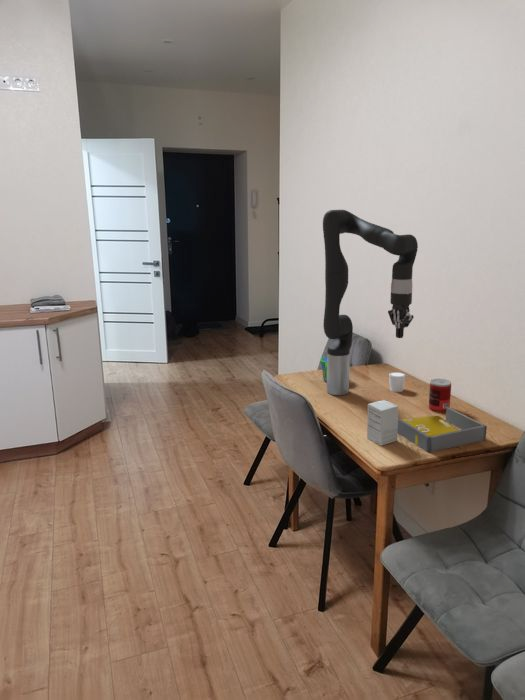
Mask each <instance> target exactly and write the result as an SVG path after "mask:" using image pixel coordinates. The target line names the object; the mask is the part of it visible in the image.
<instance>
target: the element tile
mask: <svg viewBox="0 0 525 700" xmlns="http://www.w3.org/2000/svg"><path fill="white" fill-rule="evenodd" d="M402 420H403V421H405V422H407V423H408V424H410V425H412V426H413V427H415V428H417V429H418V430H420V431H422V432H423V433H425V434H427V435H428V436H434V435H439V434H444V433H449V432H453V431H458V430H459V429H457V428H456V426H455V425H453V424H451V423H449V422H447V421H446V419H444V418H443V417H442V416H440V415H431V416H421V417H419V416H418V417H409V418H402ZM417 443H418V435H417V434H416V437H415V444H414V445H416V446H417Z"/></svg>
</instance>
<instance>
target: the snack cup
mask: <svg viewBox="0 0 525 700" xmlns="http://www.w3.org/2000/svg"><path fill="white" fill-rule="evenodd" d="M319 363H320V364H321V371H322V373H321V374H322V379H323V381H324V382H326V383H327V356H322V357H321V358H320V360H319Z"/></svg>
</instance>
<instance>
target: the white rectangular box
mask: <svg viewBox="0 0 525 700" xmlns="http://www.w3.org/2000/svg"><path fill="white" fill-rule="evenodd" d="M398 418H399V405H397V404H395V403H392V402H390V401H387V400H385V399H382V400H379V401H374V402H370V403H368V404H367V421H366V422H367V423H366V428H367V429H366V430H367V431H366V438H367V440H370V441H371V442H374V443H375V444H377V445H379V446H384V445H388V444H392V443H395V442H397V441H398V433H397V430H398Z"/></svg>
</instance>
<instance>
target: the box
mask: <svg viewBox="0 0 525 700" xmlns="http://www.w3.org/2000/svg"><path fill="white" fill-rule="evenodd" d="M445 420H446V421H447V422H448V423H450V424H451V425H452V426H454V427H458V428H459V429H458V431H453V432H449V433H444V434H439V435H434V436H428V435H427V434H425V433H423V432H422V431H420V430H418V429H417V428H415V427H413V426H412V425H410V424H408V423H407V422H405V421H403V418H401V417H398V430H397V434H399V435H400V436H401V437H403V438H405V439H407V440H408V441H410V442H411V443H413V444H414V445H416V444H415V437H416V434H417V435H418V443H417V445H416V446H417V447H419V448H421V449H422V450H423V451H425V452H427V453H433V452H438V451H442V450H447V449H451V448H457V447H459V446H460V447H461V446H465V445H469V444H473V443H477V442H478V443H479V442H483V441H486V440H487V439H486V438H487V427H488V426H487V425H485V424H484V423H481V422H479V421H477V420H475V419H473V418H471V417H469V416H468V415H465V414H463V413H461V412H459V411H457V410H455V409H453V408H451V407H450V408H449V407H448V408H447V409H446V412H445Z"/></svg>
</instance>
